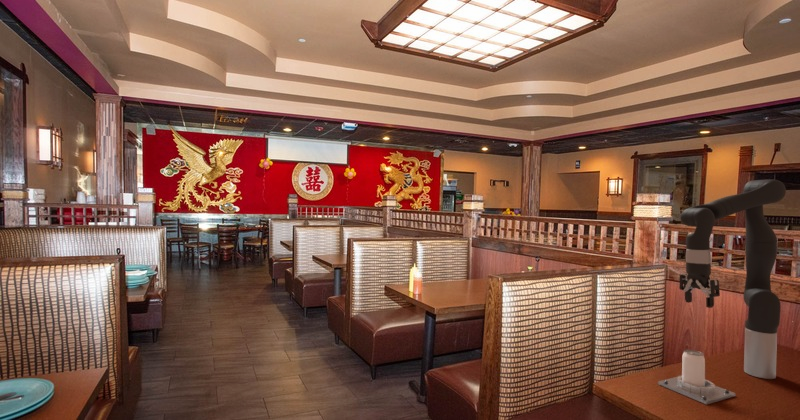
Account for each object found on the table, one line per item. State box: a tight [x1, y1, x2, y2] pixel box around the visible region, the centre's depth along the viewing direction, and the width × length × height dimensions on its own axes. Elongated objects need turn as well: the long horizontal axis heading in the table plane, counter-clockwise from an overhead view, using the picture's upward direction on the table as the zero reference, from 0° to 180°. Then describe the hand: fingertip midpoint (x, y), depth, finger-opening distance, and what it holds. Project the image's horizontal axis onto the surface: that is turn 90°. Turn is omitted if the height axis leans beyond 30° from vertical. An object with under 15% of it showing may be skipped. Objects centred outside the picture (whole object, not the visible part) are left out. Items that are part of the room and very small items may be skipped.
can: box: [681, 349, 706, 387], centre depth 141 cm, size 6×6×12 cm
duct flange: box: [657, 374, 736, 406], centre depth 141 cm, size 16×16×3 cm
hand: (698, 304), depth 150 cm, fingers open, 8 cm apart
